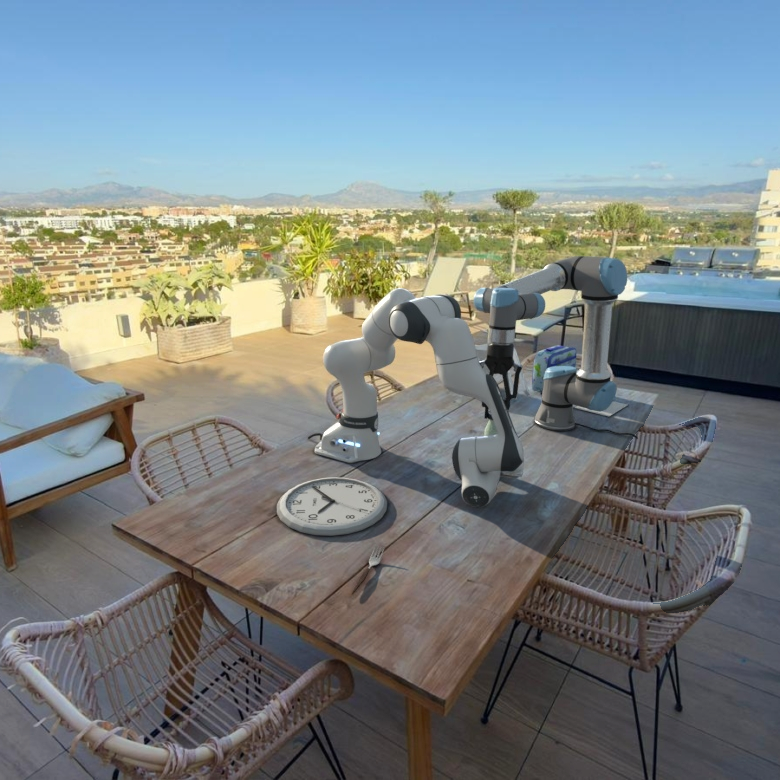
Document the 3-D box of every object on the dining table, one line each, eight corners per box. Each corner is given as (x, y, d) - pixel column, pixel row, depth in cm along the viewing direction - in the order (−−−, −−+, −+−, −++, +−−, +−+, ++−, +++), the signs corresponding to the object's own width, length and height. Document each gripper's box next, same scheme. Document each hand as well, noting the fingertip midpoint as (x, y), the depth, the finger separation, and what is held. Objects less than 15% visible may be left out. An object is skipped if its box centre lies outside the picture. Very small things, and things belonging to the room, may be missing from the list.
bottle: (496, 478, 160) (501, 419, 154) (479, 474, 162) (483, 416, 157) (501, 471, 165) (506, 413, 159) (484, 467, 167) (489, 410, 161)
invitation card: (608, 416, 214) (573, 407, 224) (608, 416, 214) (573, 408, 224) (628, 404, 229) (594, 396, 238) (628, 405, 229) (594, 397, 238)
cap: (484, 416, 159) (484, 411, 159) (496, 414, 161) (497, 409, 160) (492, 421, 155) (493, 416, 155) (505, 419, 157) (505, 414, 157)
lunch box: (548, 398, 236) (553, 353, 229) (527, 393, 243) (531, 349, 237) (575, 387, 253) (581, 344, 247) (555, 382, 260) (560, 341, 254)
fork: (346, 594, 108) (346, 586, 107) (374, 552, 122) (374, 544, 122) (357, 598, 107) (357, 589, 107) (385, 554, 121) (385, 547, 121)
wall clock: (392, 527, 129) (268, 531, 127) (391, 533, 130) (269, 537, 127) (383, 473, 158) (282, 475, 155) (383, 478, 158) (282, 480, 156)
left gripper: (523, 467, 146) (527, 448, 158) (451, 456, 152) (460, 439, 165) (521, 487, 148) (525, 467, 160) (450, 476, 154) (459, 457, 166)
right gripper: (532, 342, 152) (525, 417, 159) (472, 337, 157) (468, 410, 164) (531, 347, 145) (523, 426, 152) (468, 342, 150) (463, 418, 157)
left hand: (492, 453), depth 162 cm, fingers closed on bottle, 5 cm apart
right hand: (494, 418), depth 158 cm, fingers closed on cap, 4 cm apart
